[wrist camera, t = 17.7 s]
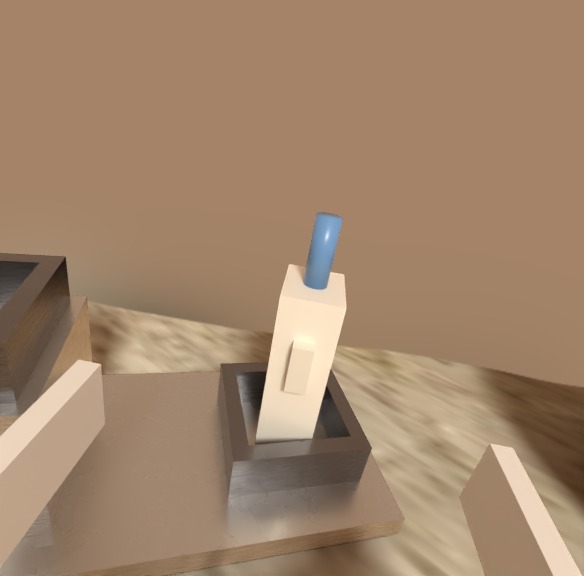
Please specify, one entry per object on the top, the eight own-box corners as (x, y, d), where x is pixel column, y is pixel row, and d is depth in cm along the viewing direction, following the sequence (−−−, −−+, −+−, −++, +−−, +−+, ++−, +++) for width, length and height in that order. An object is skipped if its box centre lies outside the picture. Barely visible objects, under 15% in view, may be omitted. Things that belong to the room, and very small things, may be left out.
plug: (250, 465, 24) (291, 225, 17) (264, 406, 29) (300, 201, 22) (304, 476, 24) (367, 240, 17) (308, 415, 28) (359, 212, 22)
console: (-288, 656, 14) (-556, 413, 9) (-72, 396, 26) (-129, 226, 21) (397, 533, 23) (473, 374, 18) (325, 380, 35) (357, 258, 30)
